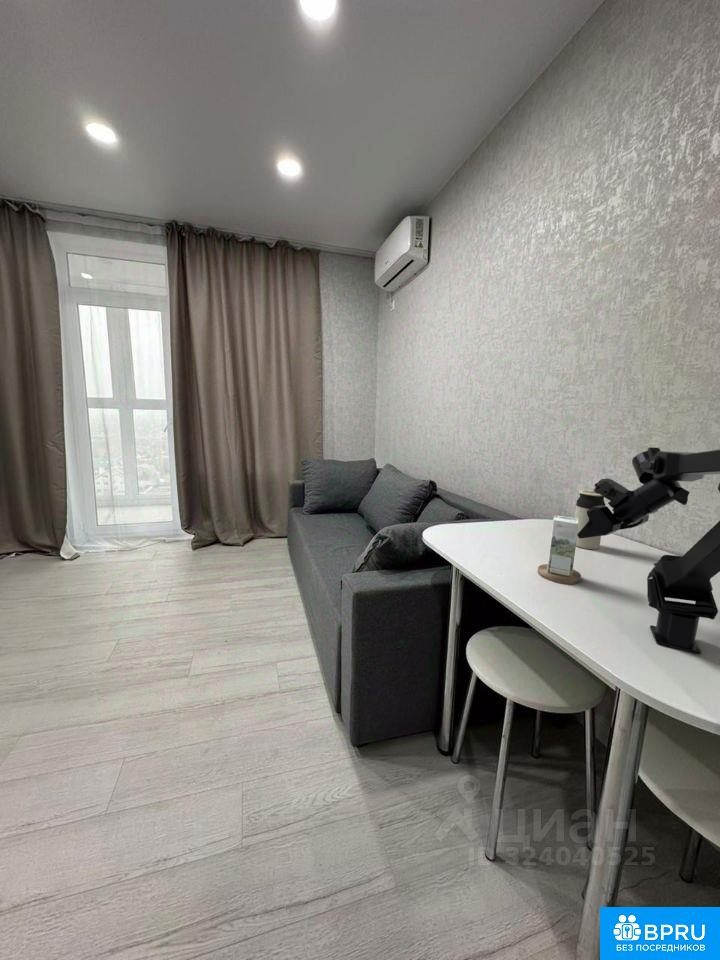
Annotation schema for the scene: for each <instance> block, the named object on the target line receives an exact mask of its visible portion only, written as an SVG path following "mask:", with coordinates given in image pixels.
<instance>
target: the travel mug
mask: <svg viewBox="0 0 720 960" xmlns="http://www.w3.org/2000/svg"><path fill="white" fill-rule="evenodd" d="M578 493H579V497H578V498H577V500H576V506H575V512H574V518H578V523H579V528H578V533H579V532H580V531H581V529H582V528H583V527H584V526H585V525H586V524H587V522H588V521H589V517H588V516H587V511H588V510H589V509H591V508H592V507H594V506H599V505H603V506H606V502H605V497H603V496H602V495H600V494H597V493H595V492H594V490H589V489H582V490H579V491H578ZM601 539H602V536H596V537H588V538H581V539H580V538H579V537H578V536H577V542H576V548H581V549H585V550H597V549H600V545H601Z"/></svg>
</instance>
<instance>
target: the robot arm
mask: <svg viewBox="0 0 720 960" xmlns="http://www.w3.org/2000/svg"><path fill="white" fill-rule="evenodd" d="M631 459H632V460H631V465H632V467H633V470H634V472H635V474H636V476H637V480H638V481H639V483H640V484H642V485H641V486H639V487H637V488H636V489H633V490H630V489H627V487H625V486H623V485H622V484H620V483H618V482H617V481H615V480H613V479H611V478H600V480H599V481H598V482H597V483H594V489H593V491H594V492H595V493H597V494H600V495H602V496H603V497H604V499H606V500H609V501H608V502H607V504H608V506H609V507H611V508H612V510H611V509H610V508H609V507H608V506H606V505H605V506H603V505H599V506H594V507H592V508H591V509H589V510H588V511H587V516H588V517H589V521H588V522H587V524H586V525H585V526H584V527H583V528H582V529H581V531H580V532H579V533H578V534H577V536H578V537H579V538H580V539H581V538H588V537H596V536H601V537H602V536H604V537H605V536H609V535H612V534H614V533H616V532H617V531H620V530H627V529H632V528H635V527H639V526H642V525H643V524H645V523H647V522H649V519H650V515H653V514H655V513H657V512H658V511H659V510H660V509H662V508H664V507H665V506H667V505H669V504H671V503H672V502H674V501H676V502H678V503H680V504H681V505H683V506H685V505H687V504H688V501H689V495H690V491H689V490H687V489H686V488H684V487H682V486H681V483H680V482H689V483H691V482H692V483H693V482H696V481H700V480H702V479H703V478H704V477H705V476H709V475H710V476H711V475H720V449H714V450H708V451H707V450H706V451H700V452H687V451H686V452H685V451H669V450H668V451H665V450H661V449H660V447H648V448H647V449H646V451H642V452H639V453H638V454H636V455H635V456H634V457H633V458H631ZM717 491H718V492H719V493H720V482H719V484H718V486H717ZM612 511H613V512H612ZM653 565H654V567H653V568H652V569H651V571H649V573H648V575H647V578H646V579H647V580H646V582H647V590H646V591H647V593H646V594H647V602H648V606H649V607H650V608H651V609H654V610H657V612H658V614H657V620H656V625H652V624H651V625H649V629H650V632H651V634H652V636H653V638H654V641H655V643H657V645H662V646H664V647H665V646H666V647H671V648H674V649H678V650H683V651H686V652H690V653H695V654H699V655H700V654H702V649H701V648H700V647H699V646H700V645H699V644H698V643H697V641H696V638H697V632H698V628H699V627H698V626H699V621H700V618H705V619H709V620H715V619H716V617H717V615H718V613H719V610H718V606H717V604H716V600H715V598H714V595H713V592H712V591H713V590H714V589H713V585H712V582H711V579H712V578H713V577H715V576H716V575H717V574H718V573H720V520H719V521H718V522H717V523H716V524H714V525H713V526H712V528H710V529H709V530H708V531H707V532H706V533H705V534H704V535H703V536H702V537H701V538H700V539H699V540H698V541H696V543H694V545H692V547H691V548H689V549H688V550H687V551H686V552H685V553H684V554H683V555H682V556H681V555H675V554H674V555H672V554H664V555H662V556H661V557H660V559H659V560H658V561H657V562H655V563H653ZM666 598H667V599H675V600H682V601H675V600H667V599H666ZM685 601H689V602H685ZM690 602H694V603H690Z"/></svg>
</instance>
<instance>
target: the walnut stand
mask: <svg viewBox="0 0 720 960" xmlns="http://www.w3.org/2000/svg"><path fill="white" fill-rule="evenodd" d="M547 570H548V563H546V564H541V565H539V566H538V567H537V574H538V575H539V576H540V577H542V578H543V579H545V580H547V581H550V582H553V583H557V584H565V585H575V584H579V583H580V582H581V579H582V574H581V573H580V572H579V571H577V570H576V569H574V568H573V571H572V577H567V576H562V575H557V574H552V573H548V572H547Z"/></svg>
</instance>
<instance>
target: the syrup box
mask: <svg viewBox="0 0 720 960" xmlns="http://www.w3.org/2000/svg"><path fill="white" fill-rule="evenodd" d="M578 528H579V523H578V518H575V517H570V516H561V515H555V514H554V515H553V521H552V529H551V535H550V544H549V545H550V546H549V553H548V561H547V564H548V570H547V572H548V573H552V574H557V575H562V576H567V577H572V571H573V569H574V563H575V555H576V549H577V546H576V542H577V534H578Z"/></svg>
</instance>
